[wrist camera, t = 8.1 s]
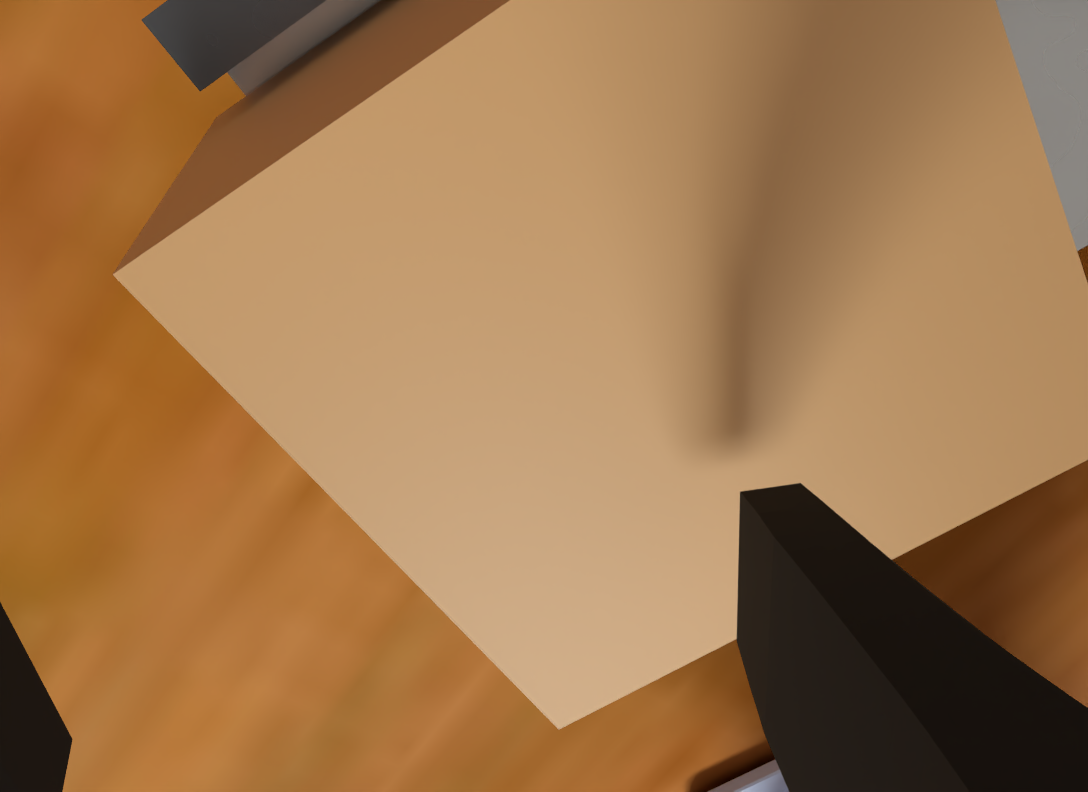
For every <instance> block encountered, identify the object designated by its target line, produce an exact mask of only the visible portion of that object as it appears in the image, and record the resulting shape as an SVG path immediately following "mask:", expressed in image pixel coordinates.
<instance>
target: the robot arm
mask: <svg viewBox="0 0 1088 792" xmlns="http://www.w3.org/2000/svg"><path fill="white" fill-rule="evenodd" d="M737 643H738V647H739V650H740V654H741V657H742V660H743V664H744V667H745V671H746V674H747V678H748V681H749V684H750V688H751V691H752V695H753V698H754V701H755V704H756V707H757V711H758V714H759V717H760V720H761V724H762V727H763V730H764V733H765V736H766V738H767V741H768V743H769V745H770V748H771V750H772V752H773V755H774V757H775V760H773V761H770V762H768V763H766V764H764V765H762V766H760V767H758V768H756V769H754V770H752V771H750V772H747V773H745V774H743V775H741V776H739V777H737V778H735V779H733V780H731V781H729V782H727V783H724V784H722V785H720V786H718V787H716V788H714V789H712V790H710V791H708V792H1088V708H1087V707H1085V706H1084V705H1082V704H1081V703H1079V702H1078V701H1077V700H1075V699H1074V698H1072V697H1071V696H1069V695H1068V694H1067V693H1065V692H1064V691H1062V690H1061V689H1059V688H1058V687H1057V686H1055V685H1054V684H1052V683H1051V682H1050V681H1048V680H1047V679H1045V678H1044V677H1042V676H1041V675H1040V674H1038V673H1037V672H1035V671H1034V670H1033V669H1031V668H1030V667H1028V666H1027V665H1026V664H1024V663H1023V662H1021V661H1020V660H1018V659H1017V658H1016V657H1014V656H1013V655H1012V654H1010V653H1009V652H1008V651H1006V650H1005V649H1004V648H1002V647H1001V646H1000V645H998V644H997V643H996V642H994V641H993V640H992V639H990V638H989V637H988V636H986V635H985V634H984V633H982V632H981V631H980V630H978V629H977V628H976V627H975V626H973V625H972V624H971V623H970V622H968V621H967V620H966V619H964V618H963V617H962V616H961V615H959V614H958V613H957V612H956V611H954V610H953V609H952V608H950V607H949V606H948V605H947V604H945V603H944V602H943V601H942V600H940V599H939V598H938V597H936V596H935V595H934V594H933V593H931V592H930V591H929V590H928V589H926V588H925V587H924V586H923V585H921V584H920V583H919V582H918V581H917V580H915V579H914V578H913V577H912V576H910V575H909V574H908V573H907V572H906V571H904V570H903V569H902V568H901V567H899V566H898V565H897V564H896V563H895V562H894V561H892V560H891V559H890V558H889V557H888V556H886V555H885V554H884V553H883V552H882V551H880V550H879V549H878V548H877V547H876V546H874V545H873V544H872V543H871V542H870V541H869V540H867V539H866V538H865V537H864V536H863V535H862V534H860V533H859V532H858V531H857V530H856V529H854V528H853V527H852V526H851V525H850V524H849V523H847V522H846V521H845V520H844V519H843V518H842V517H840V516H839V515H838V514H837V513H836V512H835V511H833V510H832V509H831V508H830V507H829V506H828V505H826V504H825V503H824V502H823V501H822V500H821V499H819V498H818V497H817V496H816V495H815V494H813V493H812V492H811V491H810V490H808V489H807V488H806V487H805V486H804V485H802V484H801V483H797V484H790V485H783V486H776V487H769V488H762V489H755V490H748V491H740V514H739V558H738V602H737ZM71 744H72V738H71V736H70V734H69V732H68V730H67V728H66V726H65V724H64V722H63V721H62V719H61V717H60V715H59V713H58V711H57V709H56V707H55V705H54V703H53V702H52V700H51V698H50V696H49V694H48V692H47V690H46V688H45V686H44V685H43V683H42V681H41V679H40V677H39V675H38V673H37V671H36V669H35V667H34V666H33V664H32V662H31V660H30V658H29V656H28V654H27V652H26V650H25V648H24V647H23V645H22V643H21V641H20V639H19V637H18V635H17V633H16V631H15V629H14V628H13V626H12V624H11V622H10V620H9V618H8V616H7V614H6V612H5V610H4V609H3V607H2V605H1V603H0V792H62V790H63V785H64V780H65V774H66V769H67V764H68V759H69V754H70V749H71Z"/></svg>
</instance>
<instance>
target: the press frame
mask: <svg viewBox="0 0 1088 792" xmlns="http://www.w3.org/2000/svg"><path fill="white" fill-rule="evenodd" d="M379 1H380V0H167V1H166V2H165V3H163V4H162V5H161V6H159V7H158V8H157V9H155V10H154V11H153V12H151V13H150V14H149V15H147V16H146V17H145V18H143V19H142V21H143V22H144V24H145V25H146V26H147V27H148V29H149V30H150V31H151V32H152V33H153V35H154V36H155V37H156V38H157V40H158V41H159V42H160V43H161V44H162V46H163V47H164V48H165V49H166V50H167V52H168V53H169V54H170V55H171V57H172V58H173V59H174V60H175V61H176V63H177V64H178V65H179V66H180V68H181V69H182V70H183V71H184V72H185V74H186V75H187V76H188V77H189V78H190V80H191V81H192V82H193V83H194V85H195V86H196V87H197V88H198V89H199V91H201V90H203V89H204V88H206V87H207V86H208V85H210V84H211V83H213V82H214V81H215V80H217V79H218V78H219V77H221V76H222V75H224V74H225V73H226V72H228V74H229V75H230V76H231V77H232V79H233V80H234V81H235V83H236V84H237V85H238V86H239V88H240V89H241V90H242V91H243V93H244V94H245V95H246V96H247V95H248V94H250V93H251V92H253V91H254V90H255V89H257V88H258V87H260V86H261V85H262V84H264V83H265V82H267V81H268V80H270V79H271V78H272V77H274V76H275V75H277V74H278V73H279V72H281V71H282V70H284V69H285V68H286V67H288V66H289V65H291V64H292V63H293V62H295V61H296V60H298V59H299V58H300V57H302V56H303V55H305V54H306V53H307V52H309V51H310V50H312V49H313V48H314V47H316V46H317V45H319V44H320V43H321V42H323V41H324V40H326V39H327V38H328V37H330V36H331V35H333V34H334V33H335V32H337V31H338V30H340V29H341V28H342V27H344V26H345V25H347V24H348V23H350V22H351V21H352V20H354V19H355V18H357V17H358V16H359V15H361V14H362V13H364V12H365V11H366V10H368V9H369V8H371V7H372V6H373V5H375V4H376V3H378V2H379ZM995 1H996V4H997V7H998V10H999V13H1000V16H1001V19H1002V22H1003V25H1004V28H1005V31H1006V34H1007V38H1008V41H1009V44H1010V47H1011V50H1012V53H1013V56H1014V59H1015V62H1016V65H1017V68H1018V71H1019V74H1020V77H1021V80H1022V84H1023V87H1024V90H1025V93H1026V96H1027V99H1028V102H1029V105H1030V108H1031V111H1032V114H1033V117H1034V120H1035V123H1036V126H1037V130H1038V133H1039V136H1040V139H1041V142H1042V145H1043V148H1044V151H1045V154H1046V157H1047V160H1048V163H1049V166H1050V169H1051V172H1052V176H1053V179H1054V182H1055V185H1056V188H1057V191H1058V194H1059V197H1060V200H1061V203H1062V206H1063V209H1064V212H1065V215H1066V218H1067V221H1068V225H1069V228H1070V231H1071V234H1072V237H1073V240H1074V243H1075V246H1076V249H1077V251H1078V250H1080V249H1082V248H1083V247H1085V246H1087V245H1088V0H995Z"/></svg>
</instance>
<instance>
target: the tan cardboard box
mask: <svg viewBox="0 0 1088 792" xmlns="http://www.w3.org/2000/svg"><path fill="white" fill-rule="evenodd" d="M113 276H114V277H115V278H116V279H117V280H118V281H119V282H120V283H121V284H122V285H123V286H124V287H125V288H126V289H127V290H128V291H129V292H130V293H131V294H132V295H133V296H134V297H135V298H136V299H137V300H138V301H139V302H140V303H141V304H142V305H143V306H144V307H145V308H146V309H147V310H148V311H149V312H150V313H151V314H152V315H153V316H154V317H155V318H156V319H157V320H158V321H159V322H160V323H161V324H162V325H163V326H164V328H165V329H166V330H167V331H168V332H169V333H170V334H171V335H172V336H173V337H174V338H175V339H176V340H177V341H178V342H179V343H180V344H181V345H182V346H183V347H184V348H185V349H186V350H187V351H188V352H189V353H190V354H191V355H192V356H193V357H194V358H195V359H196V360H197V361H198V362H199V363H200V364H201V365H202V366H203V367H204V368H205V369H206V370H207V371H208V372H209V373H210V374H211V375H212V376H213V377H214V378H215V379H216V381H217V382H218V383H219V384H220V385H221V386H222V387H223V388H224V389H225V390H226V391H227V392H228V393H229V394H230V395H231V396H232V397H233V398H234V399H235V400H236V401H237V402H238V403H239V404H240V405H241V406H242V407H243V408H244V409H245V410H246V411H247V412H248V413H249V414H250V415H251V416H252V417H253V418H254V419H255V420H256V421H257V422H258V423H259V424H260V425H261V426H262V427H263V428H264V429H265V430H266V431H267V432H268V434H269V435H270V436H271V437H272V438H273V439H274V440H275V441H276V442H277V443H278V444H279V445H280V446H281V447H282V448H283V449H284V450H285V451H286V452H287V453H288V454H289V455H290V456H291V457H292V458H293V459H294V460H295V461H296V462H297V463H298V464H299V465H300V466H301V467H302V468H303V469H304V470H305V471H306V472H307V473H308V474H309V475H310V476H311V477H312V478H313V479H314V480H315V481H316V482H317V483H318V484H319V486H320V487H321V488H322V489H323V490H324V491H325V492H326V493H327V494H328V495H329V496H330V497H331V498H332V499H333V500H334V501H335V502H336V503H337V504H338V505H339V506H340V507H341V508H342V509H343V510H344V511H345V512H346V513H347V514H348V515H349V516H350V517H351V518H352V519H353V520H354V521H355V522H356V523H357V524H358V525H359V526H360V527H361V528H362V529H363V530H364V531H365V532H366V533H367V534H368V535H369V536H370V537H371V539H372V540H373V541H374V542H375V543H376V544H377V545H378V546H379V547H380V548H381V549H382V550H383V551H384V552H385V553H386V554H387V555H388V556H389V557H390V558H391V559H392V560H393V561H394V562H395V563H396V564H397V565H398V566H399V567H400V568H401V569H402V570H403V571H404V572H405V573H406V574H407V575H408V576H409V577H410V578H411V579H412V580H413V581H414V582H415V583H416V584H417V585H418V586H419V587H420V588H421V589H422V591H423V592H424V593H425V594H426V595H427V596H428V597H429V598H430V599H431V600H432V601H433V602H434V603H435V604H436V605H437V606H438V607H439V608H440V609H441V610H442V611H443V612H444V613H445V614H446V615H447V616H448V617H449V618H450V619H451V620H452V621H453V622H454V623H455V624H456V625H457V626H458V627H459V628H460V629H461V630H462V631H463V632H464V633H465V634H466V635H467V636H468V637H469V638H470V639H471V640H472V641H473V642H474V644H475V645H476V646H477V647H478V648H479V649H480V650H481V651H482V652H483V653H484V654H485V655H486V656H487V657H488V658H489V659H490V660H491V661H492V662H493V663H494V664H495V665H496V666H497V667H498V668H499V669H500V670H501V671H502V672H503V673H504V674H505V675H506V676H507V677H508V678H509V679H510V680H511V681H512V682H513V683H514V684H515V685H516V686H517V687H518V688H519V689H520V690H521V691H522V692H523V693H524V694H525V695H526V697H527V698H528V699H529V700H530V701H531V702H532V703H533V704H534V705H535V706H536V707H537V708H538V709H539V710H540V711H541V712H542V713H543V714H544V715H545V716H546V717H547V718H548V719H549V720H550V721H551V722H552V723H553V724H554V725H555V726H556V727H557V728H558V729H561V728H563V727H565V726H567V725H569V724H571V723H572V722H574V721H576V720H578V719H580V718H582V717H584V716H586V715H588V714H590V713H592V712H594V711H596V710H598V709H600V708H602V707H604V706H606V705H608V704H610V703H612V702H614V701H616V700H618V699H620V698H622V697H623V696H625V695H627V694H629V693H631V692H633V691H635V690H637V689H639V688H641V687H643V686H645V685H647V684H649V683H651V682H653V681H655V680H657V679H659V678H661V677H663V676H665V675H667V674H669V673H671V672H673V671H674V670H676V669H678V668H680V667H682V666H684V665H686V664H688V663H690V662H692V661H694V660H696V659H698V658H700V657H702V656H704V655H706V654H708V653H710V652H712V651H714V650H716V649H718V648H720V647H722V646H724V645H725V644H727V643H729V642H731V641H733V640H735V639H737V602H738V558H739V514H740V491H748V490H755V489H762V488H769V487H776V486H783V485H790V484H797V483H801V484H802V485H804V486H805V487H806V488H807V489H808V490H810V491H811V492H812V493H813V494H815V495H816V496H817V497H818V498H819V499H821V500H822V501H823V502H824V503H825V504H826V505H828V506H829V507H830V508H831V509H832V510H833V511H835V512H836V513H837V514H838V515H839V516H840V517H842V518H843V519H844V520H845V521H846V522H847V523H849V524H850V525H851V526H852V527H853V528H854V529H856V530H857V531H858V532H859V533H860V534H862V535H863V536H864V537H865V538H866V539H867V540H869V541H870V542H871V543H872V544H873V545H874V546H876V547H877V548H878V549H879V550H880V551H882V552H883V553H884V554H885V555H886V556H888V557H889V558H890V559H891V560H892V559H894V558H896V557H898V556H900V555H902V554H904V553H906V552H908V551H910V550H912V549H914V548H916V547H918V546H920V545H922V544H924V543H926V542H927V541H929V540H931V539H933V538H935V537H937V536H939V535H941V534H943V533H945V532H947V531H949V530H951V529H953V528H955V527H957V526H959V525H961V524H963V523H965V522H967V521H969V520H971V519H973V518H975V517H977V516H978V515H980V514H982V513H984V512H986V511H988V510H990V509H992V508H994V507H996V506H998V505H1000V504H1002V503H1004V502H1006V501H1008V500H1010V499H1012V498H1014V497H1016V496H1018V495H1020V494H1022V493H1024V492H1026V491H1028V490H1029V489H1031V488H1033V487H1035V486H1037V485H1039V484H1041V483H1043V482H1045V481H1047V480H1049V479H1051V478H1053V477H1055V476H1057V475H1059V474H1061V473H1063V472H1065V471H1067V470H1069V469H1071V468H1073V467H1075V466H1077V465H1079V464H1080V463H1082V462H1084V461H1086V460H1088V283H1087V280H1086V277H1085V274H1084V271H1083V267H1082V264H1081V261H1080V258H1079V255H1078V252H1077V249H1076V246H1075V243H1074V240H1073V237H1072V234H1071V231H1070V228H1069V225H1068V221H1067V218H1066V215H1065V212H1064V209H1063V206H1062V203H1061V200H1060V197H1059V194H1058V191H1057V188H1056V185H1055V182H1054V179H1053V176H1052V172H1051V169H1050V166H1049V163H1048V160H1047V157H1046V154H1045V151H1044V148H1043V145H1042V142H1041V139H1040V136H1039V133H1038V130H1037V126H1036V123H1035V120H1034V117H1033V114H1032V111H1031V108H1030V105H1029V102H1028V99H1027V96H1026V93H1025V90H1024V87H1023V84H1022V80H1021V77H1020V74H1019V71H1018V68H1017V65H1016V62H1015V59H1014V56H1013V53H1012V50H1011V47H1010V44H1009V41H1008V38H1007V34H1006V31H1005V28H1004V25H1003V22H1002V19H1001V16H1000V13H999V10H998V7H997V4H996V1H995V0H380V1H379V2H378V3H376V4H375V5H373V6H372V7H371V8H369V9H368V10H366V11H365V12H364V13H362V14H361V15H359V16H358V17H357V18H355V19H354V20H352V21H351V22H350V23H348V24H347V25H345V26H344V27H342V28H341V29H340V30H338V31H337V32H335V33H334V34H333V35H331V36H330V37H328V38H327V39H326V40H324V41H323V42H321V43H320V44H319V45H317V46H316V47H314V48H313V49H312V50H310V51H309V52H307V53H306V54H305V55H303V56H302V57H300V58H299V59H298V60H296V61H295V62H293V63H292V64H291V65H289V66H288V67H286V68H285V69H284V70H282V71H281V72H279V73H278V74H277V75H275V76H274V77H272V78H271V79H270V80H268V81H267V82H265V83H264V84H262V85H261V86H260V87H258V88H257V89H255V90H254V91H253V92H251V93H250V94H248V95H247V96H246V97H244V98H243V99H241V100H240V101H239V102H237V103H236V104H234V105H233V106H232V107H230V108H229V109H227V110H226V111H225V112H223V113H222V114H220V115H219V116H218V117H216V119H215V120H214V122H213V123H212V125H211V126H210V128H209V129H208V131H207V133H206V134H205V136H204V137H203V139H202V140H201V142H200V143H199V145H198V146H197V148H196V149H195V151H194V152H193V154H192V155H191V157H190V158H189V160H188V161H187V163H186V164H185V166H184V167H183V169H182V170H181V172H180V173H179V175H178V176H177V178H176V179H175V181H174V182H173V184H172V185H171V187H170V188H169V190H168V191H167V193H166V194H165V196H164V198H163V199H162V201H161V202H160V204H159V205H158V207H157V208H156V210H155V211H154V213H153V214H152V216H151V217H150V219H149V220H148V222H147V223H146V225H145V226H144V228H143V229H142V231H141V232H140V234H139V235H138V237H137V238H136V240H135V241H134V243H133V244H132V246H131V247H130V249H129V250H128V252H127V253H126V255H125V256H124V258H123V260H122V261H121V263H120V264H119V266H118V267H117V269H116V270H115V272H114V273H113Z"/></svg>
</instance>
